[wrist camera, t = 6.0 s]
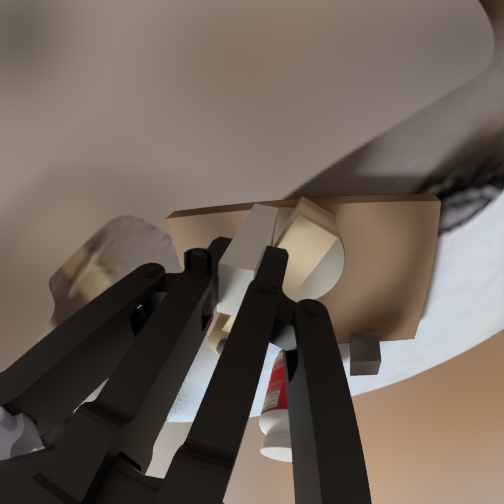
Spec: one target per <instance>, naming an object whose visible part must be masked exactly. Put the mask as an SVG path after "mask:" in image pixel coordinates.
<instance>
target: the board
mask: <svg viewBox="0 0 504 504" xmlns="http://www.w3.org/2000/svg"><path fill="white" fill-rule="evenodd" d="M306 199H308V200H310V201H311V202H313V203H315V204H316V205H318V206H320V207H321V208H323V209H324V210H326V211H328V212H329V213H331V214H333V215H334V216H336V225H337V235H338V238H337V240H336V241H335V242H334V244H333V245H332V246H331V248H330V249H329V250H328V251H327V253H326V254H325V255H324V257H323V258H322V259H321V261H320V262H319V263H318V264H317V266H316V267H315V268H314V269H313V271H312V272H311V273H310V274H309V276H308V277H307V278H306V279H305V281H304V282H303V283H302V284H301V286H300V287H299V288H298V289H297V291H296V292H295V293H294V294H293V295H292V297H291V298H290V299H292V300H293V301H295V302H297V303H298V301H300V300H303V299H314V300H317V301H319V302H321V303H322V304H323V305H325V306H326V308H327V310H328V312H329V316H330V319H331V323H332V326H333V330H334V333H335V337H336V340H337V343H350V376H357V375H377V374H378V371H379V367H380V363H381V353H380V345H379V342H380V341H394V340H406V339H414V338H415V335H416V332H417V328H418V325H419V321H420V318H421V314H422V310H423V307H424V303H425V299H426V295H427V290H428V286H429V281H430V276H431V271H432V266H433V261H434V255H435V248H436V242H437V234H438V226H439V217H440V206H441V201H440V200H439V199H438V198H437V197H436V196H435V195H434V194H385V195H355V196H334V197H317V198H306ZM299 201H300V199H288V200H276V201H264V202H253V203H243V204H233V205H224V206H215V207H206V208H198V209H190V210H182V211H174V212H173V213H172V214H170V215H169V216H168V217H167V218H166V219H165V220H166V223H167V226H168V229H169V233H170V236H171V239H172V242H173V245H174V248H175V251H176V254H177V256H178V259H179V262H180V265H181V268H182V271H184V252H186V251H187V250H189V249H192V248H205V249H207V248H208V247H209V245H210V244H211V242H212V241H213V240H214V239H216V238H218V237H220V236H222V237H227V238H232V239H233V238H234V236H235V235H236V233H237V232H238V230H239V228H240V227H241V225H242V223H243V222H244V220H245V218H246V217H247V215H248V214H249V212H250V210H251V209H252V207H253V206H254V204H255V203H256V204H261V205H266V206H271V207H277V208H279V210H278V216H277V222H276V229H275V235H274V240H275V239H276V237H277V235H278V234H279V232H280V231H281V229H282V228H283V226H284V224H285V223H286V221H287V220H288V218H289V216H290V215H291V213H292V212H293V210H294V209H295V207H296V205H297V204H298V202H299ZM273 242H274V241H273ZM219 314H220V312H217V305H216V307H215V309H214V317H213V321H212V323H211V325H210V327H209V329H208V331H207V336H208V338H209V336H210V333H211V331H212V329H213V327H214V325H215V323H216V321H217V319H218V317H219Z"/></svg>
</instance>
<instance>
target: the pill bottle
mask: <svg viewBox="0 0 504 504" xmlns="http://www.w3.org/2000/svg"><path fill="white" fill-rule="evenodd" d="M259 425H260V428H261V430H262V431H263V432H264V433H265V434H266V436H265V437H264V438H263V440H262V444H261V449H260V452H261V454H263V455H264V456H266V457H269V458H271V459H275V460H280V461H286V462H292V451H291V438H290V427H289V415H288V404H287V393H286V383H285V372H284V362H283V353H282V352H281V353H280V354H279V355H278V356H277V357H276V359H275V362H274V365H273V369H272V373H271V377H270V381H269V385H268V389H267V393H266V397H265V401H264V405H263V408H262V412H261V416H260V420H259Z"/></svg>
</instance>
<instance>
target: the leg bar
mask: <svg viewBox="0 0 504 504" xmlns="http://www.w3.org/2000/svg"><path fill="white" fill-rule="evenodd" d="M337 238H338V235H337V225H336V216H334V215H333V214H331V213H329V212H328V211H326V210H324V209H323V208H321V207H320V206H318V205H316V204H315V203H313V202H311V201H310V200H308V199H306V198H305V197H303V196H302V197H301V199H300V201H299V202H298V204H297V205H296V207H295V209H294V210H293V212H292V213H291V215H290V216H289V218H288V220H287V221H286V223H285V224H284V226H283V228H282V229H281V231H280V232H279V234H278V235H277V237H276V239H275V240H274V242H273V247H278V248H283V249H286V250H287V252H288V254H289V259H288V263H287V268H286V273H285V277H284V282H283V286H282V289H283V292H284V293H285V295H286V296H287V297H288V298H291V297H292V295H293V294H294V293H295V292H296V291H297V289H298V288H299V287H300V286H301V284H302V283H303V282H304V281H305V279H306V278H307V277H308V276H309V274H310V273H311V272H312V271H313V269H314V268H315V267H316V266H317V264H318V263H319V262H320V261H321V259H322V258H323V257H324V255H325V254H326V253H327V251H328V250H329V249H330V248H331V246H332V245H333V244H334V242H335V241H336V240H337ZM235 318H236V316H232V315H228V314H224V313H220V314H219V317H218V319H217V321H216V323H215V325H214V327H213V329H212V331H211V333H210V336H209V338H208V343H209V346H210V347H211V349H212V350H213V351H214V352H216V353H217V354H218V355H221V353H222V350H223V348H224V345H225V343H226V340H227V338H228V335H229V333H230V330H231V328H232V325H233V323H234V320H235Z"/></svg>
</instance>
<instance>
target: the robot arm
mask: <svg viewBox="0 0 504 504" xmlns="http://www.w3.org/2000/svg"><path fill="white" fill-rule="evenodd" d="M278 210H279V208H277V207H271V206H266V205H261V204H256V203H255V204H254V206H253V207H252V209H251V210H250V212H249V214H248V215H247V217H246V218H245V220H244V222H243V223H242V225H241V227H240V228H239V230H238V232H237V233H236V235H235V236H234V238H233V239H232V238H227V237H222V236H220V237H218V238H216V239H214V240H213V241H212V242H211V244H210V245H209V247H208V248H207V249H205V248H192V249H189V250H187V251H186V252H184V271H183V272H182V273H165V269H164V267H163V266H162V265H160V264H157V263H147V264H143V265H141V266H140V267H138V268H137V269H135V270H134V271H132V272H131V273H130V274H128V275H127V276H125V277H124V278H122V279H121V280H120V281H118V282H117V283H115V284H114V285H113V286H111V287H110V288H108V289H107V290H106V291H104V292H103V293H102V294H100V295H99V296H98V297H96V298H95V299H93V300H92V301H91V302H89V303H88V304H87V305H85V306H84V307H83V308H81V309H80V310H79V311H78V312H76V313H75V314H74V315H72V316H71V317H70V318H68V319H67V320H66V321H65V322H63V323H62V324H61V325H59V326H58V327H57V328H56V329H54V330H53V331H52V332H51V333H49V334H48V335H47V336H46V337H44V338H43V339H42V340H41V341H39V342H38V343H37V344H36V345H35V346H33V347H32V348H31V349H30V350H29V351H27V352H26V353H25V354H24V355H23V356H21V357H20V358H19V359H18V360H17V361H16V362H14V364H12V365H11V366H10V367H9V368H7V369H6V370H5V371H3V372H1V373H0V504H224V503H223V502H222V501H223V498H224V496H225V493H226V490H227V486H228V483H229V480H230V477H231V474H232V470H233V467H234V465H235V461H236V458H237V455H238V452H239V448H240V445H241V442H242V438H243V435H244V432H245V429H246V425H247V422H248V418H249V415H250V411H251V408H252V404H253V401H254V397H255V394H256V390H257V386H258V383H259V379H260V375H261V372H262V368H263V364H264V360H265V357H266V353H267V349H268V345H269V342H270V343H272V344H274V345H276V346H278V347H280V348H282V349H283V351H282V353H283V362H284V372H285V383H286V393H287V404H288V415H289V427H290V438H291V451H292V464H293V477H294V491H295V504H372V503H371V496H370V490H369V483H368V477H367V471H366V465H365V460H364V455H363V450H362V444H361V440H360V435H359V430H358V425H357V421H356V416H355V412H354V407H353V403H352V399H351V394H350V390H349V386H348V382H347V378H346V374H345V370H344V366H343V363H342V359H341V355H340V351H339V348H338V344H337V340H336V337H335V333H334V330H333V326H332V323H331V319H330V316H329V312H328V310H327V308H326V306H325V305H323V304H322V303H321V302H319V301H317V300H314V299H303V300H300V301H298V303H297V302H295V301H293V300H292V299H290V298H288V297H287V296H286V295H285V293H284V292H283V289H282V286H283V282H284V277H285V273H286V268H287V263H288V259H289V254H288V252H287V250H286V249H283V248H278V247H273V241H274V235H275V229H276V222H277V216H278ZM140 305H142V306H141V307H140V308H138V309H137V307H138V306H140ZM216 305H217V312H220V313H224V314H228V315H232V316H236V318H235V320H234V323H233V325H232V328H231V330H230V333H229V335H228V338H227V340H226V343H225V345H224V348H223V350H222V353H221V355H220V358H219V360H218V363H217V365H216V368H215V370H214V373H213V375H212V377H211V380H210V382H209V385H208V387H207V390H206V392H205V395H204V397H203V399H202V402H201V404H200V407H199V409H198V412H197V414H196V416H195V419H194V421H193V424H192V426H191V429H190V431H189V433H188V436H187V438H186V440H185V442H184V444H183V445H182V446H180V447H179V449H178V450H177V452H176V453H175V455H174V457H173V459H172V462H171V464H170V466H169V469H168V471H167V473H166V476H165V478H164V479H162V478H156V477H150V476H146V475H145V473H146V471H147V469H148V467H149V465H150V462H151V460H152V453H153V446H154V443H155V441H156V439H157V437H158V435H159V433H160V431H161V429H162V427H163V425H164V423H165V420H166V418H167V416H168V413H169V411H170V409H171V407H172V405H173V403H174V401H175V399H176V397H177V394H178V392H179V390H180V388H181V386H182V384H183V382H184V380H185V377H186V375H187V373H188V371H189V369H190V367H191V365H192V363H193V361H194V358H195V356H196V354H197V352H198V350H199V348H200V346H201V344H202V342H203V340H204V337H205V335H206V333H207V331H208V329H209V327H210V325H211V323H212V321H213V317H214V309H215V307H216ZM110 375H111V376H110ZM109 376H110V378H109V379H108V381H107V382H106V384H105V385H104V387H103V389H102V390H101V392H100V393H99V395H98V397H97V398H96V399H95V400H94V401H92V402H85V403H83V404H82V405H80V404H81V403H82V402H83V401H84V400H85V399H86V398H87V397H88V396H89V395H90V394H91V393H92V392H94V391H95V390H96V389H97V388H98V387H99V386H100V385H101V384H102V383H103V382H104V381H105V380H106V379H107V378H108V377H109ZM79 405H80V406H79ZM78 406H79V408H78V409H77V410H76V412H74V410H75V409H76V408H77V407H78Z"/></svg>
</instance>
